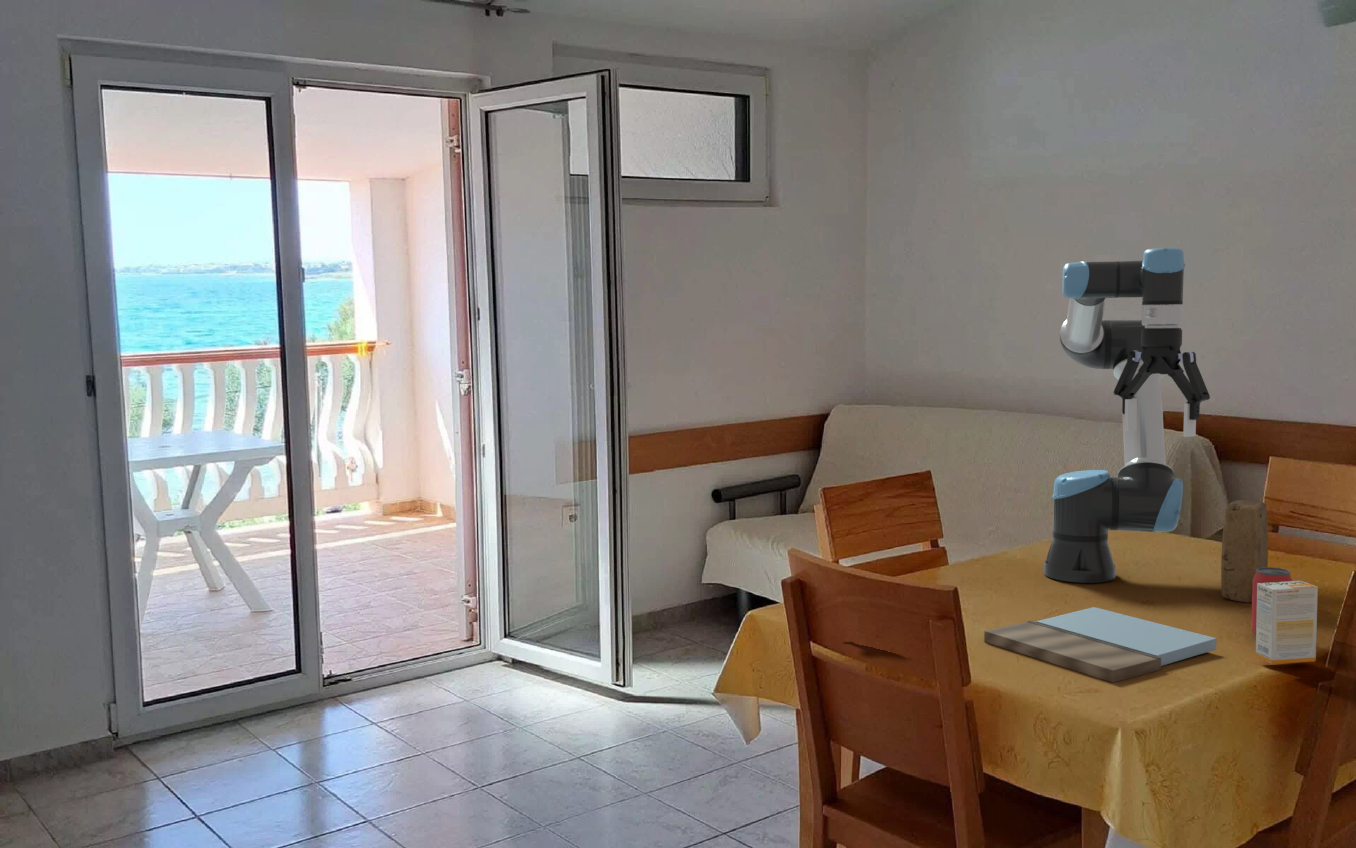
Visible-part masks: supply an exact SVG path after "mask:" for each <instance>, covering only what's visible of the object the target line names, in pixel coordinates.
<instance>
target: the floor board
mask: <svg viewBox="0 0 1356 848" xmlns="http://www.w3.org/2000/svg"><path fill="white" fill-rule="evenodd" d="M983 634H984V635H983V637H984V638H983V639H984V640H983V641H984V643H987V644H990V645H994V646H996V647H999V648H1003V649H1006V650H1008V651H1013V652H1015V653H1019V654H1022V655H1025V656H1029V657H1031V658H1034V659H1037V660H1041V661H1043V662H1047V663H1049V664H1053V665H1057V666H1060V667H1062V668H1065V669H1068V670H1072V671H1075V672H1079V673H1080V674H1081V673H1082V674H1085V675H1088V676H1091V677H1094V678H1098V679H1101V680H1104V681H1107V682H1110V683H1116V682H1119V681H1123V680H1126V679H1131V678H1136V677H1138V676H1142V675H1143V676H1144V675H1146V674H1151V673H1153V672H1157V671H1161V669H1162V666H1161V658H1159V657H1156V656H1152V655H1149V654H1145V653H1142V652H1138V651H1135V650H1131V649H1128V648H1124V647H1121V646H1117V645H1114V644H1110V643H1107V642H1103V641H1100V640H1096V639H1092V638H1089V637H1085V636H1082V635H1078V634H1075V633H1071V632H1068V631H1064V630H1061V629H1057V628H1054V627H1050V626H1047V625H1043V624H1040V623H1036V621H1032V620H1027V621H1025V622H1020V623H1015V624H1011V625H1007V626H1001V627H996V628H993V629H992V628H991V629H987V630H984V632H983Z"/></svg>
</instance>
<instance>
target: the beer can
mask: <svg viewBox="0 0 1356 848" xmlns="http://www.w3.org/2000/svg"><path fill="white" fill-rule="evenodd" d="M1256 571H1257V572H1256V574H1255V576H1254V578H1253V590H1252V602H1251V623H1250V624H1251V626H1250V627H1251V629H1250V630H1251V633H1253V634H1254V635H1255V636H1256V621H1257V583H1271V582H1288V581H1293V579H1292V576H1291V571H1290V570H1288V569H1286V568H1280V567H1272V566H1271V567H1270V566H1269V567H1261V568H1258V569H1256Z"/></svg>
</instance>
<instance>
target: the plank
mask: <svg viewBox="0 0 1356 848" xmlns="http://www.w3.org/2000/svg"><path fill="white" fill-rule="evenodd" d="M1035 622H1036V623H1040V624H1043V625H1047V626H1050V627H1054V628H1057V629H1061V630H1064V631H1068V632H1071V633H1075V634H1078V635H1082V636H1085V637H1089V638H1092V639H1096V640H1100V641H1103V642H1107V643H1110V644H1114V645H1117V646H1121V647H1124V648H1128V649H1131V650H1135V651H1138V652H1142V653H1145V654H1149V655H1152V656H1156V657H1159V658H1161V667H1162V666H1165V665H1168V664H1172V663H1176V662H1178V661H1183V660H1185V659H1188V658H1192V657H1195V656H1199V655H1202V654H1206V653H1210V652H1212V651H1215V650H1217V638H1216V637H1213V636H1209V635H1205V634H1201V633H1197V632H1193V631H1190V630H1185V629H1181V628H1179V627H1178V628H1177V627H1174V626H1171V625H1167V624H1166V625H1165V624H1161V623H1158V622H1154V621H1150V620H1146V619H1143V618H1140V617H1139V618H1138V617H1135V616H1130V615H1126V614H1124V613H1119V612H1115V611H1111V610H1108V609H1103V608H1100V607H1095V606H1091V607H1088V608H1084V609H1080V610H1075V611H1073V612H1068V613H1064V614H1060V615H1056V616H1052V617H1048V618H1044V619H1040V620H1036V621H1035Z"/></svg>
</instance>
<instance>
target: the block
mask: <svg viewBox="0 0 1356 848" xmlns="http://www.w3.org/2000/svg"><path fill="white" fill-rule="evenodd" d="M1224 511H1225V512H1224V522H1223V526H1222V527H1223V528H1222V540H1221V560H1220V561H1221V564H1220V565H1221V567H1220V570H1221V571H1220V573H1221V574H1220V584H1221V586H1220V587H1221V595H1222V597H1224V598H1225V599H1226V600H1231V601H1235V602H1241V603H1252V590H1253V578H1254V576H1255V574H1256V572H1257V571H1256V569H1258V568H1261V567H1268V565H1269V525H1268V512H1267V511H1268V510H1267V504H1266V503H1265V502H1264V501H1260V500H1243V499H1237V500H1234V501H1232V502H1230V503H1229V504H1228V505H1227V506H1226V508H1225V510H1224Z"/></svg>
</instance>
